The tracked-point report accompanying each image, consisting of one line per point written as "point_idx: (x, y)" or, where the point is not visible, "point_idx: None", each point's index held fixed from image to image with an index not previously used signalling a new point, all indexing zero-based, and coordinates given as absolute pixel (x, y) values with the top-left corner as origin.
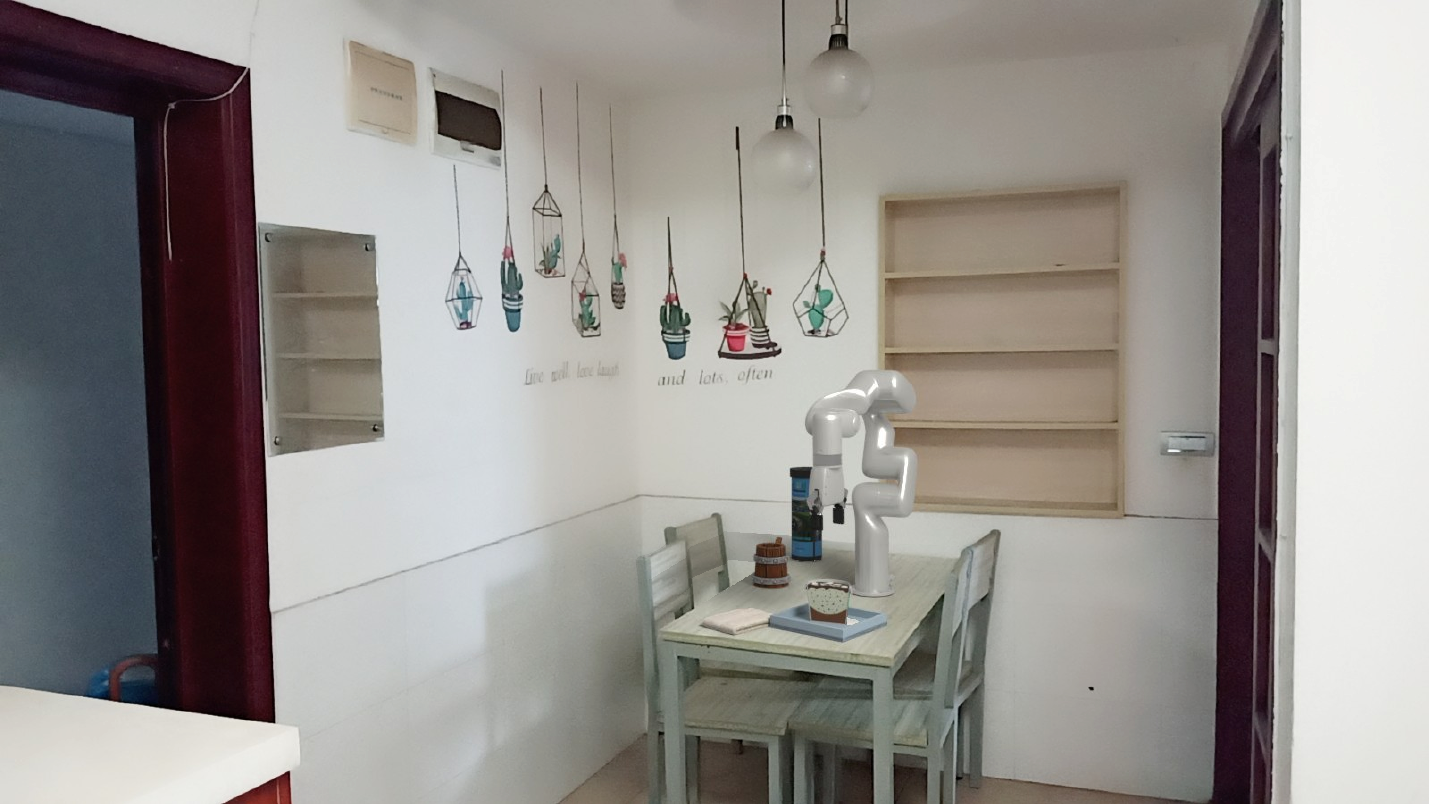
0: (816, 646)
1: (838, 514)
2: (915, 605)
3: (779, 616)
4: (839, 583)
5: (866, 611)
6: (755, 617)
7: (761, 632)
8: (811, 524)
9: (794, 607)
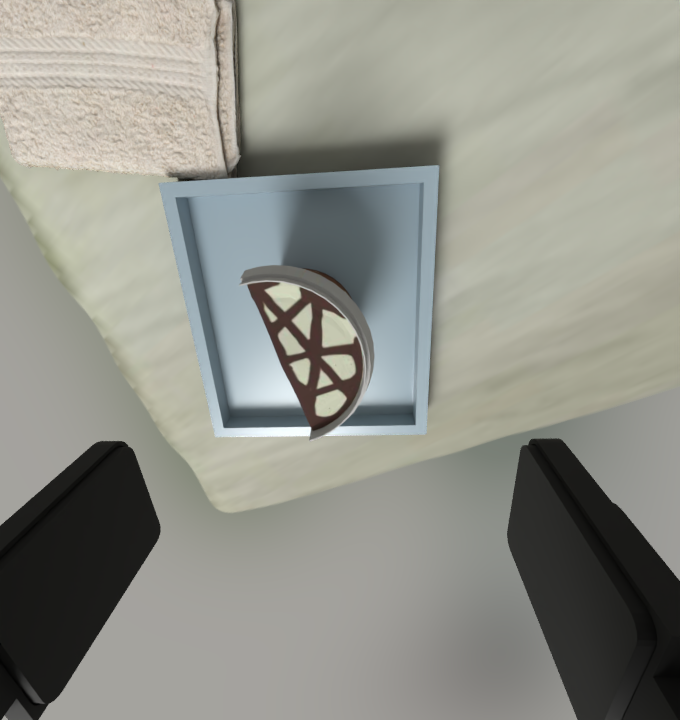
0: (157, 394)
1: (560, 611)
2: (674, 368)
3: (173, 222)
4: (360, 362)
5: (416, 380)
6: (133, 130)
7: (120, 208)
8: (63, 472)
9: (297, 178)
